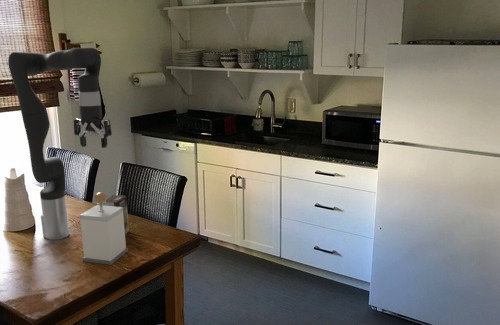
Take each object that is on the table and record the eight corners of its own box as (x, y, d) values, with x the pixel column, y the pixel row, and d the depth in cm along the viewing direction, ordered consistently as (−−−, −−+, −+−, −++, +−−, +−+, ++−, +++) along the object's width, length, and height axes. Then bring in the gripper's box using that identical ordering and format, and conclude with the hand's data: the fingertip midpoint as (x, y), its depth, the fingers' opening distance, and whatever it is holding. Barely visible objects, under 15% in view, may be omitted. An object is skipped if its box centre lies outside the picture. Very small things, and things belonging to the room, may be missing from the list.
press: (82, 261, 173) (77, 215, 169) (104, 244, 187) (100, 201, 183) (111, 264, 170) (107, 218, 166) (131, 247, 184) (128, 204, 180)
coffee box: (119, 239, 192) (116, 202, 188) (105, 238, 193) (101, 201, 189) (129, 231, 200) (126, 195, 196) (115, 230, 202) (112, 194, 198)
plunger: (96, 245, 175) (91, 193, 170) (102, 240, 179) (98, 190, 174) (106, 246, 174) (102, 194, 169) (113, 241, 178) (108, 191, 173)
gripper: (66, 104, 171) (71, 148, 175) (101, 105, 167) (105, 150, 171) (79, 102, 178) (83, 144, 182) (112, 103, 174) (116, 145, 178)
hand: (94, 146), depth 176 cm, fingers open, 8 cm apart
